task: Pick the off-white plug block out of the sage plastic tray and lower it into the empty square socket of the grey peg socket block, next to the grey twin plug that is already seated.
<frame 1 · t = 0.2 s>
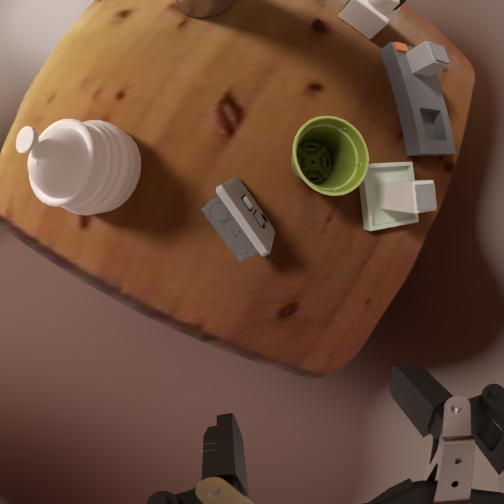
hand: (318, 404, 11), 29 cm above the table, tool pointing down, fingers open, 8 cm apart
grey peg socket block: (413, 101, 36), on the table
medicine bottle: (360, 20, 32), on the table
plug: (388, 194, 38), point 1 cm above the table, touching tray
honey pot: (102, 169, 35), on the table
tray: (386, 194, 39), on the table
electrical switch: (241, 216, 38), on the table
plant pot: (310, 162, 37), on the table
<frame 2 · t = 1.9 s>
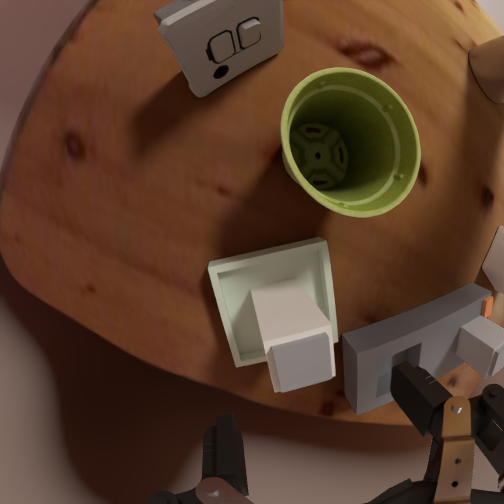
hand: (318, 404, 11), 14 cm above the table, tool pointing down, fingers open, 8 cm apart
grey peg socket block: (416, 338, 28), on the table
medicine bottle: (497, 258, 27), on the table
plug: (277, 304, 24), point 1 cm above the table, touching tray
tray: (275, 300, 25), on the table
electrical switch: (222, 56, 20), on the table
plant pot: (315, 155, 23), on the table
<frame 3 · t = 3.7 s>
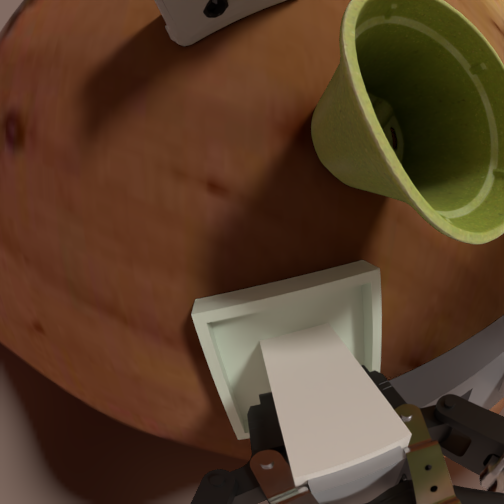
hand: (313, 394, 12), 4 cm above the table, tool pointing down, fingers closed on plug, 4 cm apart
grey peg socket block: (458, 376, 19), on the table
plug: (298, 359, 15), point 1 cm above the table, touching gripper, tray
tray: (295, 352, 16), on the table
plant pot: (358, 136, 14), on the table
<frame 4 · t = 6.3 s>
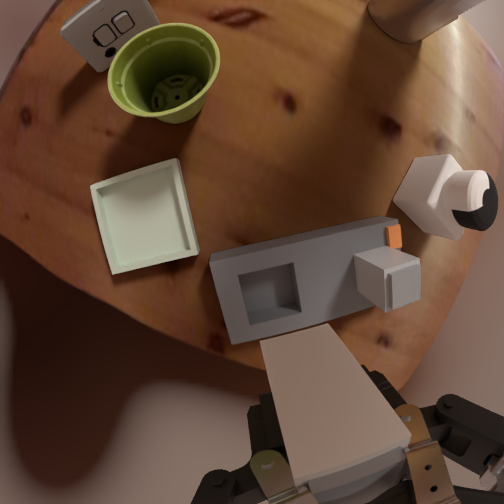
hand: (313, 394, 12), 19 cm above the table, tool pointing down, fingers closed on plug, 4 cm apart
grey peg socket block: (308, 271, 31), on the table
medicine bottle: (418, 195, 30), on the table
plug: (298, 360, 15), point 16 cm above the table, touching gripper
tray: (145, 216, 28), on the table
electrical switch: (120, 42, 23), on the table
plant pot: (178, 98, 26), on the table
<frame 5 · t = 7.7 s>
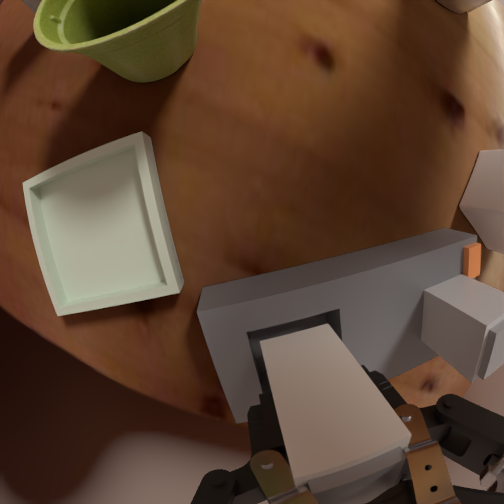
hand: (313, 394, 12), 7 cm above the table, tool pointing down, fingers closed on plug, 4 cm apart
grey peg socket block: (350, 311, 19), on the table
medicine bottle: (483, 200, 19), on the table
plug: (298, 360, 15), point 4 cm above the table, touching gripper
tray: (100, 228, 17), on the table
plant pot: (154, 48, 14), on the table
when the fingers open (5 cm above the table, at t = 8.9 s): plug stays where it is, resting on grey peg socket block.
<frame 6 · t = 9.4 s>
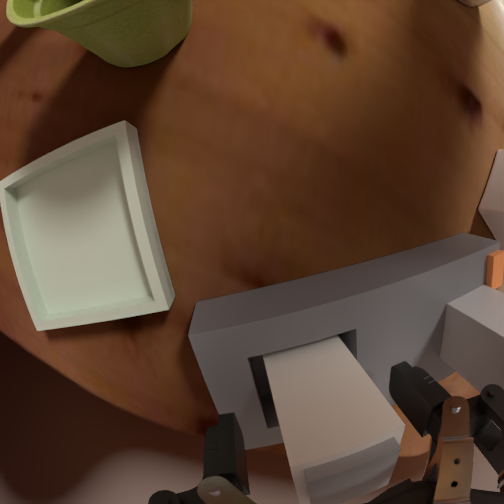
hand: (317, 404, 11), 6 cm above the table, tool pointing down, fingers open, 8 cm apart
grey peg socket block: (363, 326, 17), on the table
medicine bottle: (501, 202, 17), on the table
plug: (296, 355, 16), point 1 cm above the table, touching grey peg socket block
tray: (80, 233, 14), on the table
plant pot: (144, 31, 12), on the table
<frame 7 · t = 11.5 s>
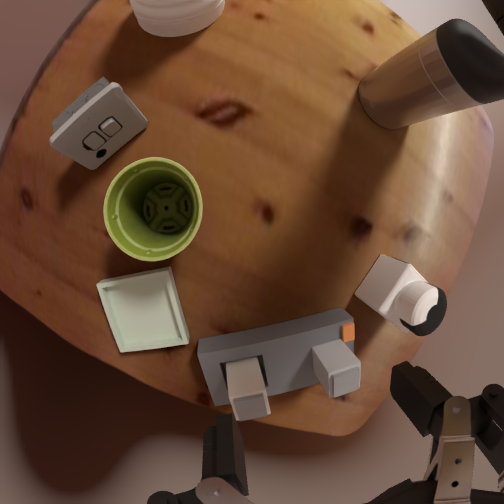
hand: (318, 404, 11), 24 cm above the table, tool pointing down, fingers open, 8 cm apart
grey peg socket block: (276, 351, 37), on the table
medicine bottle: (381, 285, 37), on the table
plug: (242, 363, 35), point 1 cm above the table, touching grey peg socket block
honey pot: (180, 7, 26), on the table
tray: (145, 309, 33), on the table
electrical switch: (110, 134, 29), on the table
plant pot: (167, 207, 32), on the table
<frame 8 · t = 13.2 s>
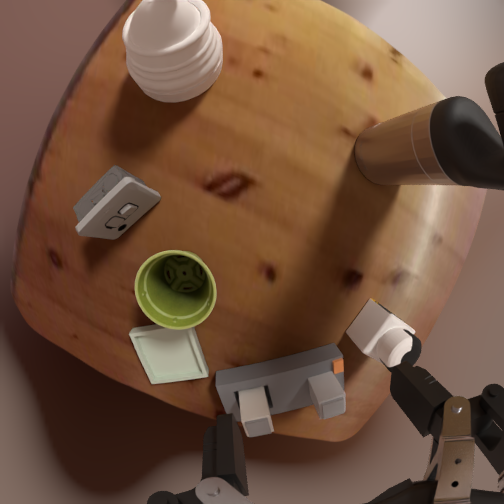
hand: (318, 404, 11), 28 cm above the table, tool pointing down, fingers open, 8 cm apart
grey peg socket block: (280, 378, 43), on the table
medicine bottle: (370, 322, 43), on the table
plug: (252, 388, 42), point 1 cm above the table, touching grey peg socket block
honey pot: (178, 65, 32), on the table
tray: (170, 350, 40), on the table
electrical switch: (127, 205, 36), on the table
plant pot: (185, 270, 38), on the table
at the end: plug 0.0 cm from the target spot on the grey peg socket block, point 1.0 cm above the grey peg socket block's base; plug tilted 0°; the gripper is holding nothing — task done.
